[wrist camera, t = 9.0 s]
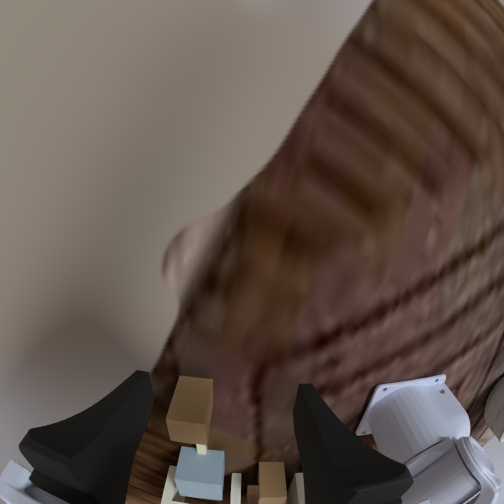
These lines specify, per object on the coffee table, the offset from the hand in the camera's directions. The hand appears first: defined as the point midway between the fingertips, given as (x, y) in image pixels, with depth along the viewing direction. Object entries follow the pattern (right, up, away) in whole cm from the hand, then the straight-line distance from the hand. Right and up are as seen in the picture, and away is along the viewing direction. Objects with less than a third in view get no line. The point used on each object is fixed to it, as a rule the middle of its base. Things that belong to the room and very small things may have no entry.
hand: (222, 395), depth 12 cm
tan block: (+3, -25, +16) cm, 30 cm away
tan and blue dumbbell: (-4, -13, +13) cm, 19 cm away
